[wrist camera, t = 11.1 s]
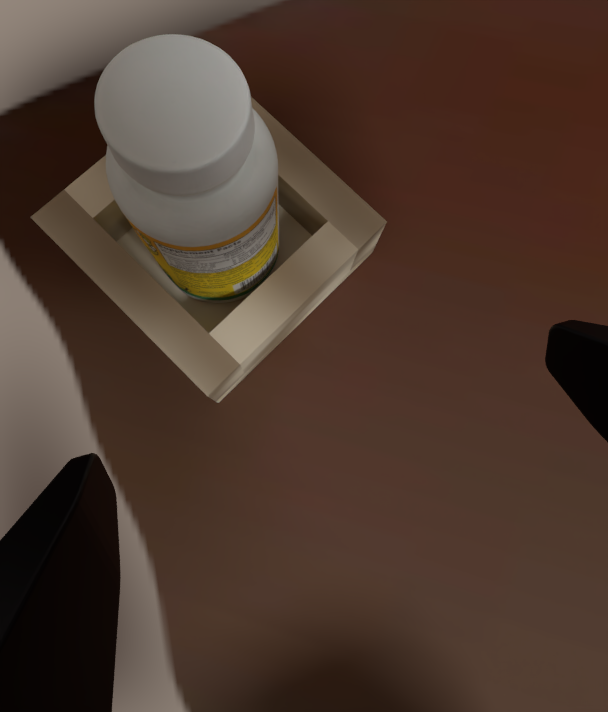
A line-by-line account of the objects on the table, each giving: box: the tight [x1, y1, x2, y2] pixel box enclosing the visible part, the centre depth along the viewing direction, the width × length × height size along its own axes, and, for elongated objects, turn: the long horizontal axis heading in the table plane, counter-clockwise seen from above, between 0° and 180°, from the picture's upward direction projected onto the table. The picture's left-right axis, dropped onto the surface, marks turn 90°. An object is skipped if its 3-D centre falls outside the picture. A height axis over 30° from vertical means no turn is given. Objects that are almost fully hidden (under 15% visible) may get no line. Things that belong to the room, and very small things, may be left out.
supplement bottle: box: [94, 34, 279, 303], centre depth 17 cm, size 5×5×10 cm
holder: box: [31, 97, 387, 403], centre depth 21 cm, size 10×10×3 cm
